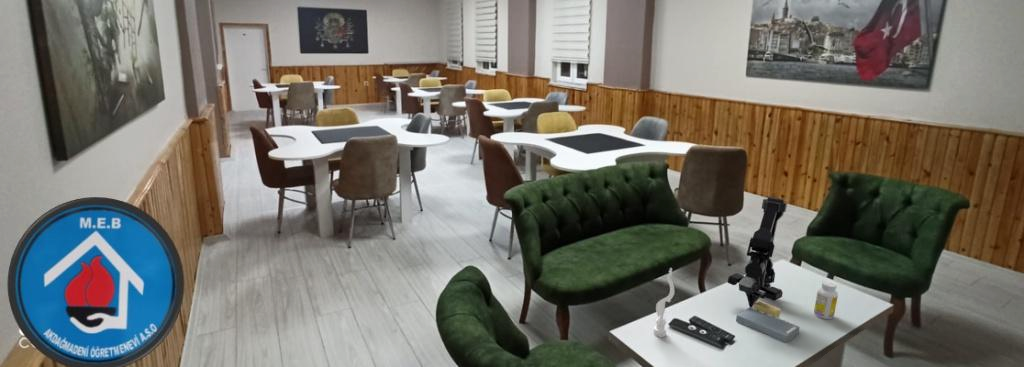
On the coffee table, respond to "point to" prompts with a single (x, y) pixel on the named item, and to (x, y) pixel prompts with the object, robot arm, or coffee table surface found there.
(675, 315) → the coffee table surface
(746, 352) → the coffee table surface
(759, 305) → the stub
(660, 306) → the decorative finial
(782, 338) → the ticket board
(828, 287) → the supplement bottle
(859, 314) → the coffee table surface
